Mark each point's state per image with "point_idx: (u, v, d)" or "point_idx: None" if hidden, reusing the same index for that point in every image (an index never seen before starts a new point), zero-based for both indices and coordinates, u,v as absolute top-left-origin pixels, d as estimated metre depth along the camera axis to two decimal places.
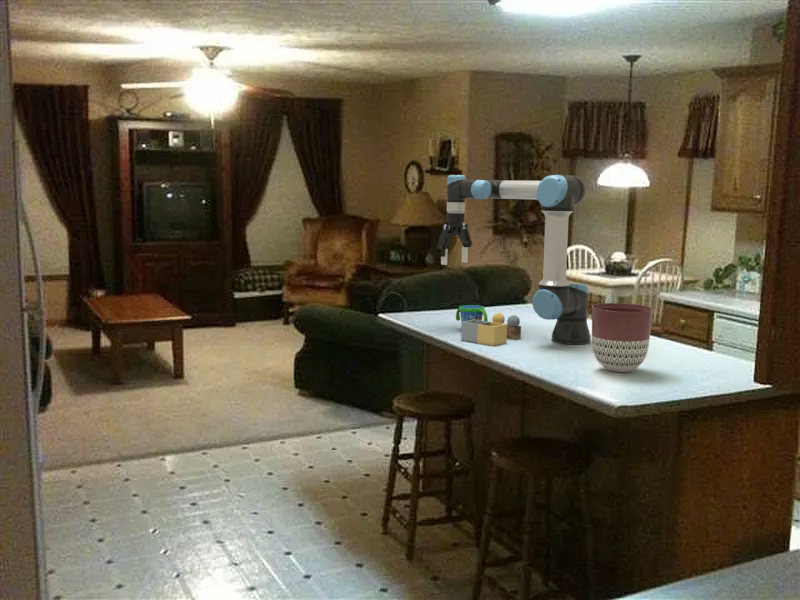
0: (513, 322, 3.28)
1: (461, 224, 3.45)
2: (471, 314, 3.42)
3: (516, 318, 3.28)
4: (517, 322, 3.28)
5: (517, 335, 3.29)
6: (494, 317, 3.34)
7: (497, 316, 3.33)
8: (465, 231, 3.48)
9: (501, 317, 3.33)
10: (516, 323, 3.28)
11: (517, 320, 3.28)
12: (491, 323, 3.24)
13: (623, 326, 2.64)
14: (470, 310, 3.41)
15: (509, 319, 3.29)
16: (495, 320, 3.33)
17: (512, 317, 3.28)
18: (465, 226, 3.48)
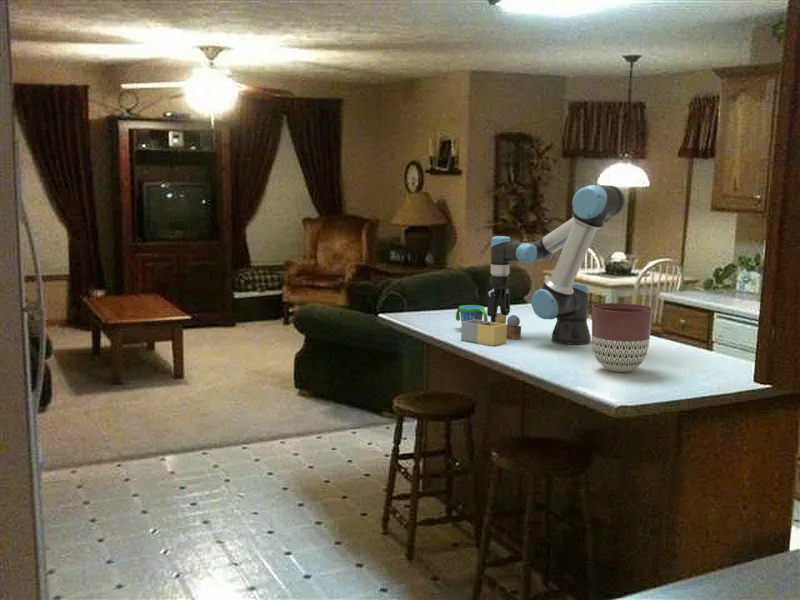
0: (513, 322, 3.28)
1: (506, 286, 3.35)
2: (471, 314, 3.42)
3: (516, 318, 3.28)
4: (517, 322, 3.28)
5: (517, 335, 3.29)
6: None
7: (497, 316, 3.33)
8: (507, 296, 3.37)
9: (501, 317, 3.33)
10: (516, 323, 3.28)
11: (517, 320, 3.28)
12: (491, 323, 3.24)
13: (623, 326, 2.64)
14: (470, 310, 3.41)
15: (509, 319, 3.29)
16: None
17: (512, 317, 3.28)
18: (508, 291, 3.37)
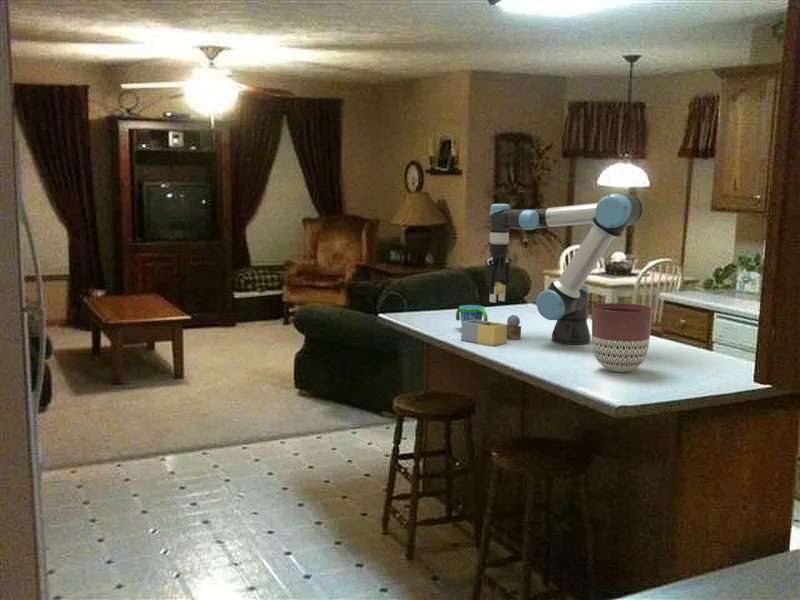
0: (513, 322, 3.28)
1: (505, 255, 3.29)
2: (471, 314, 3.42)
3: (516, 318, 3.28)
4: (517, 322, 3.28)
5: (517, 335, 3.29)
6: None
7: (496, 285, 3.27)
8: (507, 265, 3.31)
9: (500, 286, 3.27)
10: (516, 323, 3.28)
11: (517, 320, 3.28)
12: (491, 323, 3.24)
13: (623, 326, 2.64)
14: (470, 310, 3.41)
15: (509, 319, 3.29)
16: None
17: (512, 317, 3.28)
18: (508, 260, 3.31)
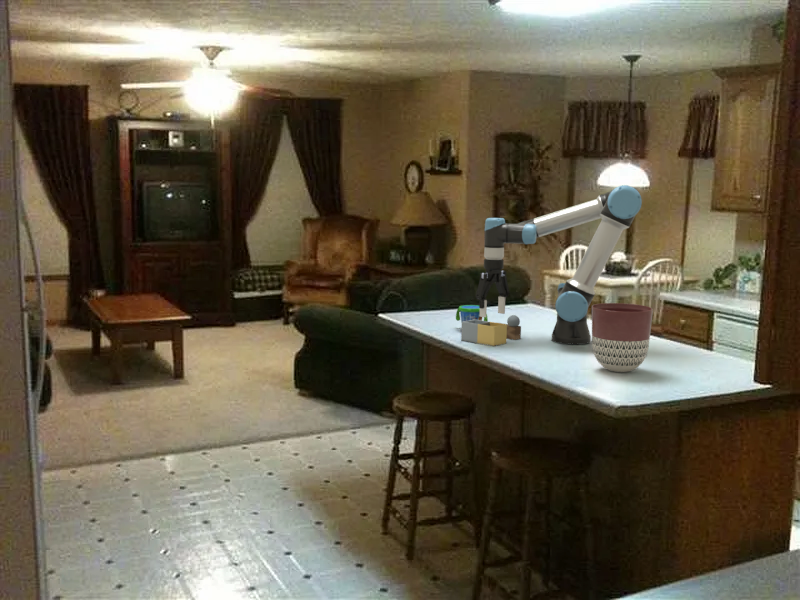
0: (513, 322, 3.28)
1: (500, 271, 3.18)
2: (471, 314, 3.42)
3: (516, 318, 3.28)
4: (517, 322, 3.28)
5: (517, 335, 3.29)
6: None
7: None
8: (503, 279, 3.21)
9: None
10: (516, 323, 3.28)
11: (517, 320, 3.28)
12: (491, 323, 3.24)
13: (623, 326, 2.64)
14: (470, 310, 3.41)
15: (509, 319, 3.29)
16: None
17: (512, 317, 3.28)
18: (503, 273, 3.20)
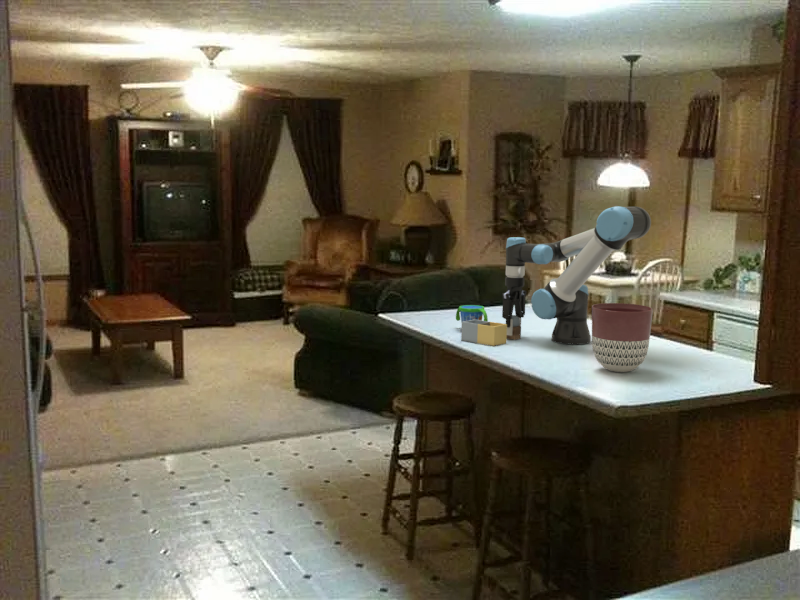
0: (513, 322, 3.28)
1: (521, 288, 3.30)
2: (471, 314, 3.42)
3: (516, 318, 3.28)
4: (517, 322, 3.28)
5: (517, 335, 3.29)
6: None
7: None
8: (522, 298, 3.32)
9: None
10: (516, 323, 3.28)
11: (517, 320, 3.28)
12: (491, 323, 3.24)
13: (623, 326, 2.64)
14: (470, 310, 3.41)
15: None
16: None
17: (512, 317, 3.28)
18: (524, 293, 3.32)
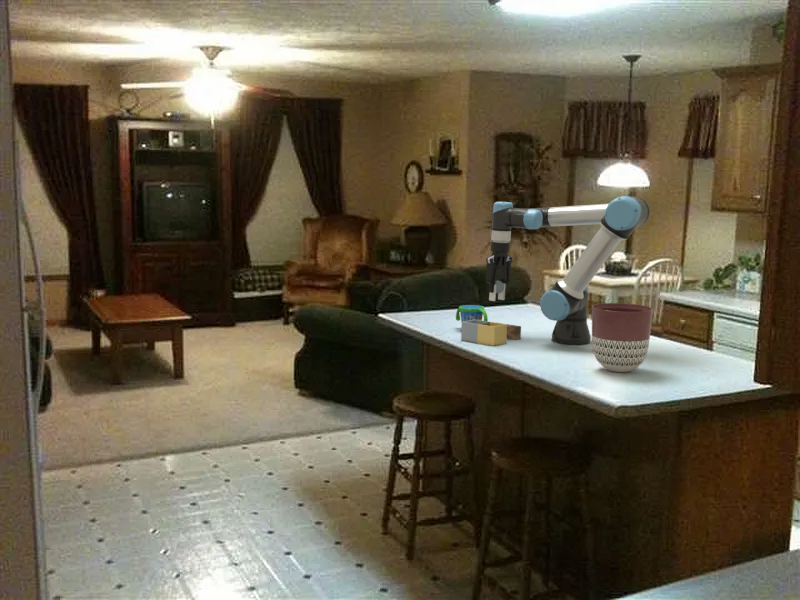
0: (497, 287, 3.24)
1: (506, 253, 3.26)
2: (471, 314, 3.42)
3: (500, 284, 3.25)
4: (501, 288, 3.25)
5: (517, 335, 3.29)
6: None
7: None
8: (507, 264, 3.28)
9: None
10: (500, 289, 3.25)
11: (501, 286, 3.25)
12: (491, 323, 3.24)
13: (623, 326, 2.64)
14: (470, 310, 3.41)
15: None
16: None
17: (496, 282, 3.25)
18: (509, 258, 3.28)
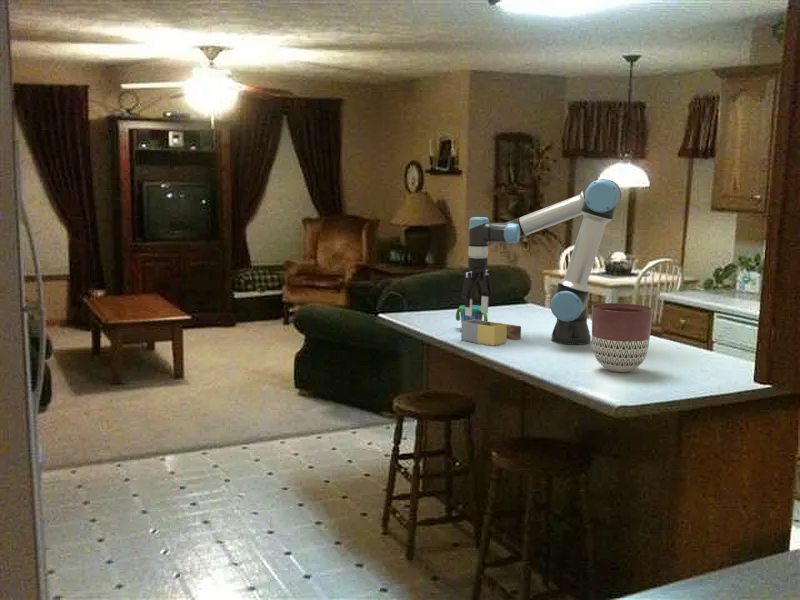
0: None
1: (484, 269, 3.23)
2: None
3: None
4: None
5: (517, 335, 3.29)
6: None
7: None
8: (487, 278, 3.26)
9: None
10: None
11: None
12: (491, 323, 3.24)
13: (623, 326, 2.64)
14: None
15: None
16: None
17: None
18: (488, 272, 3.25)
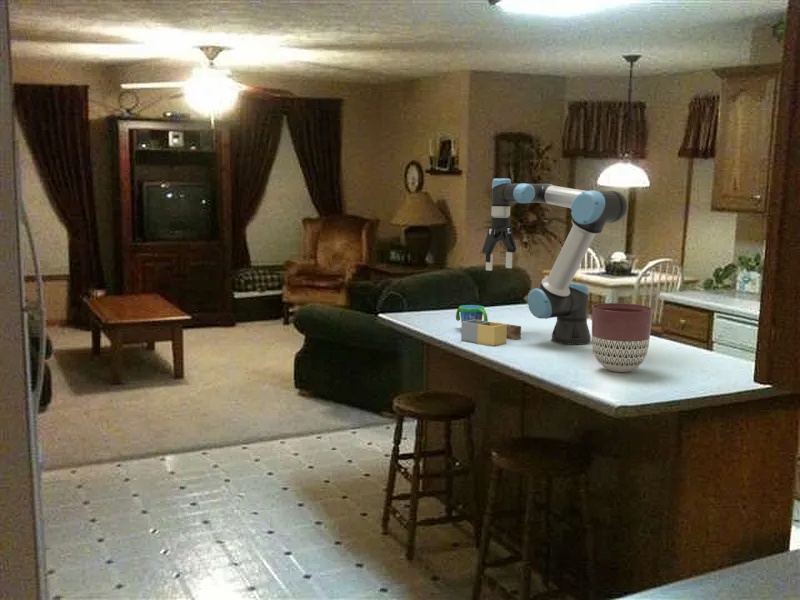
0: None
1: (506, 229, 3.36)
2: (471, 314, 3.42)
3: None
4: None
5: (517, 335, 3.29)
6: None
7: None
8: (510, 236, 3.40)
9: None
10: None
11: None
12: (491, 323, 3.24)
13: (623, 326, 2.64)
14: (470, 310, 3.41)
15: None
16: None
17: None
18: (510, 231, 3.39)
